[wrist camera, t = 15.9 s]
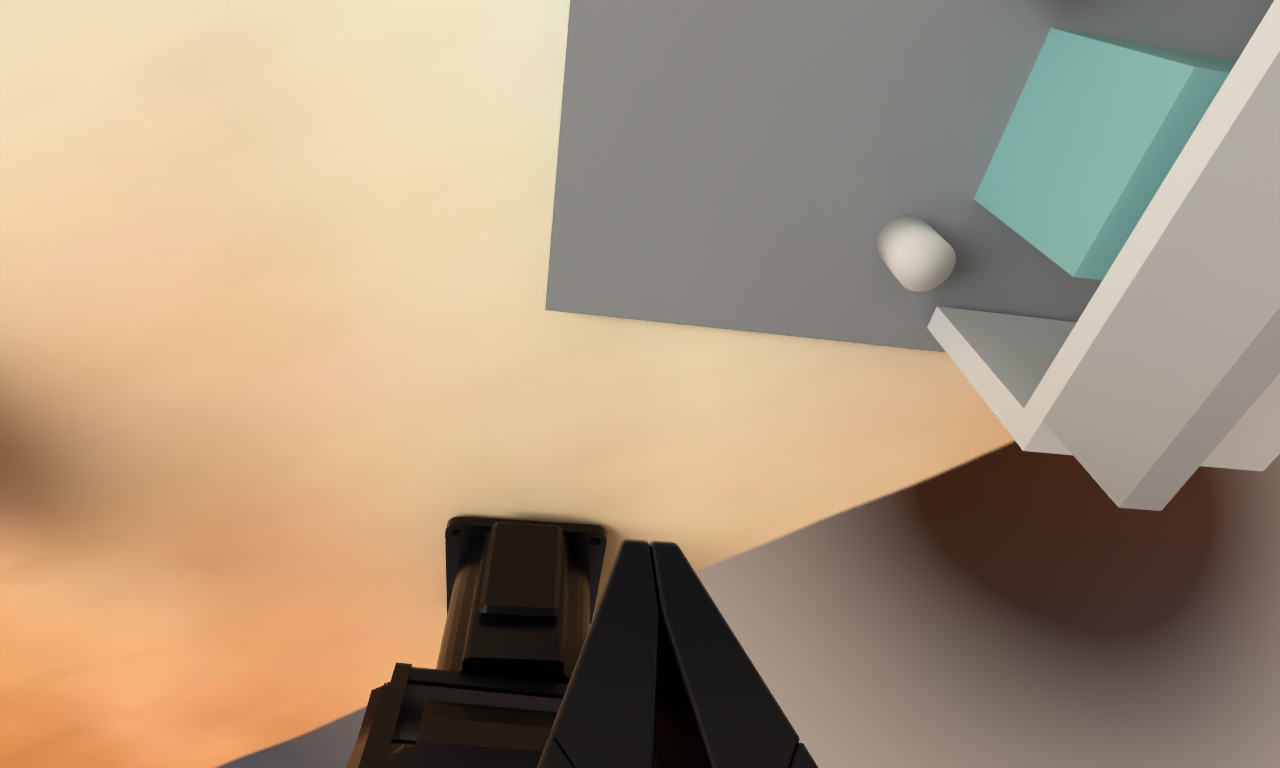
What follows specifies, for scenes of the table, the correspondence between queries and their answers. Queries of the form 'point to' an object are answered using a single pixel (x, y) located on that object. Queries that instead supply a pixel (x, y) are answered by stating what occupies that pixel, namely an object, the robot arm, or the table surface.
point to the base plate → (816, 158)
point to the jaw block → (1095, 143)
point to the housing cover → (1162, 318)
